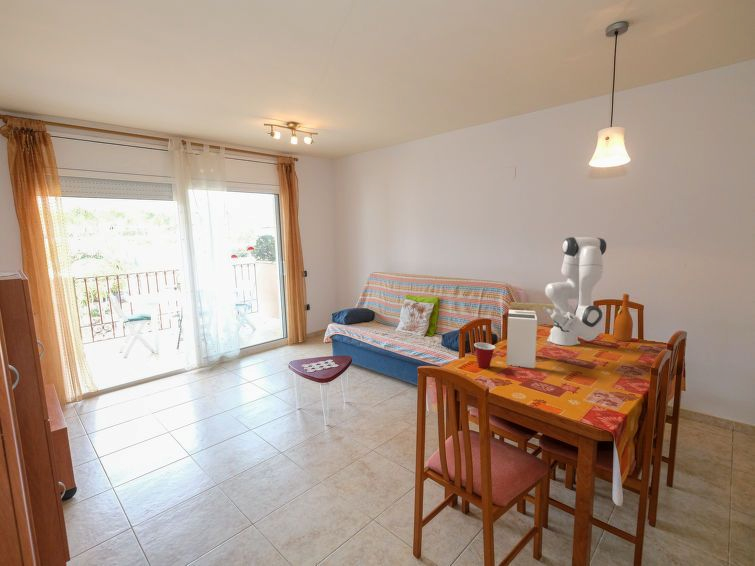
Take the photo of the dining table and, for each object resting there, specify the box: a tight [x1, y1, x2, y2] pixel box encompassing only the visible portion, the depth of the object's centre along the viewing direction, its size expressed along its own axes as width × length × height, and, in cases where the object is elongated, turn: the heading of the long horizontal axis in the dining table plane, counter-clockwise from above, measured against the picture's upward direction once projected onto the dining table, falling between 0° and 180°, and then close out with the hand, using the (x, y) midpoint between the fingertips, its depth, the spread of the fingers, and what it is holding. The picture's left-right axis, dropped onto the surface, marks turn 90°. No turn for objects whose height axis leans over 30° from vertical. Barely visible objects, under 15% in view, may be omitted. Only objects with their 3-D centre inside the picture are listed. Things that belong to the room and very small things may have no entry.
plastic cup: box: [473, 342, 496, 370], centre depth 189 cm, size 11×11×12 cm
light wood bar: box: [510, 301, 554, 311], centre depth 198 cm, size 3×22×3 cm, turn 69°
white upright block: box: [505, 309, 538, 369], centre depth 197 cm, size 21×14×26 cm, turn 159°
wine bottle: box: [613, 293, 634, 342], centre depth 229 cm, size 10×10×30 cm
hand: (543, 306), depth 195 cm, fingers closed on light wood bar, 3 cm apart
